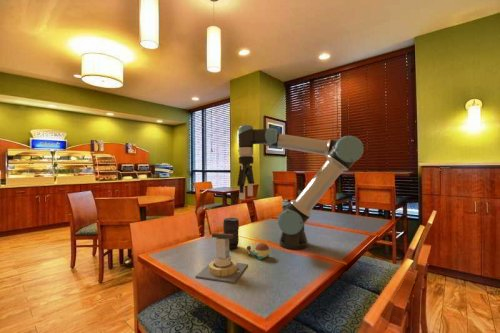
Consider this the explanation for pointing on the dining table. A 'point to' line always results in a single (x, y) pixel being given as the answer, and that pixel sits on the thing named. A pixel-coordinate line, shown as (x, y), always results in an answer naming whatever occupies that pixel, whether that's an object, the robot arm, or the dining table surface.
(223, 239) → the white pillar stand
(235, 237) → the camera lens
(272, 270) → the dining table surface
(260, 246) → the figurine
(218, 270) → the mount
